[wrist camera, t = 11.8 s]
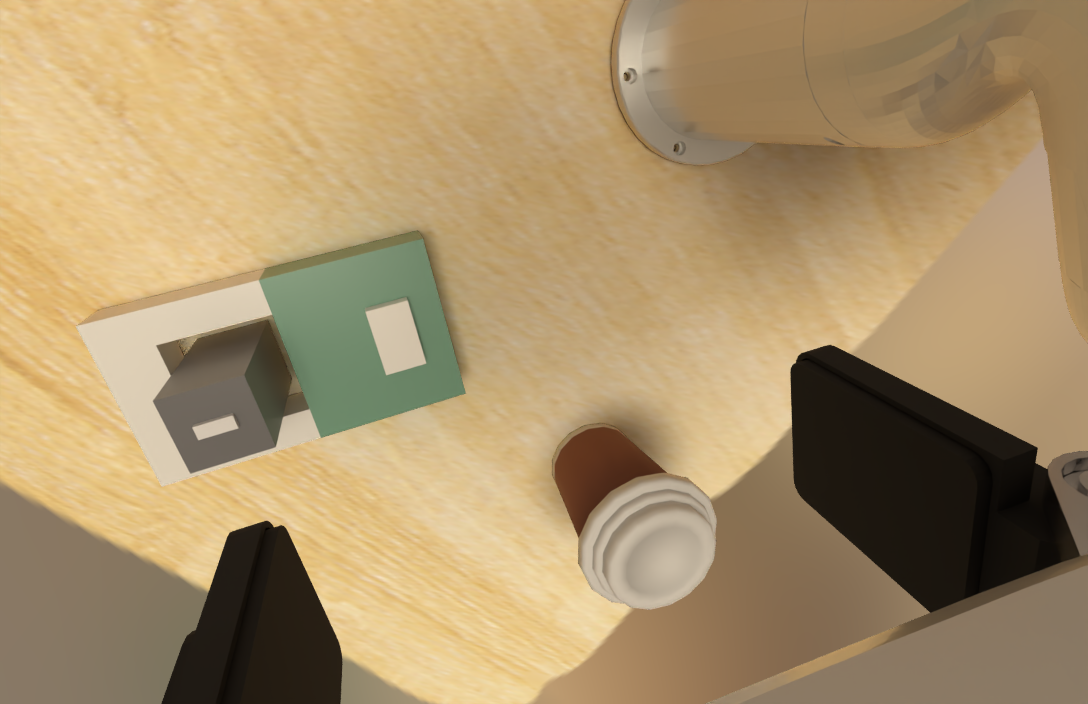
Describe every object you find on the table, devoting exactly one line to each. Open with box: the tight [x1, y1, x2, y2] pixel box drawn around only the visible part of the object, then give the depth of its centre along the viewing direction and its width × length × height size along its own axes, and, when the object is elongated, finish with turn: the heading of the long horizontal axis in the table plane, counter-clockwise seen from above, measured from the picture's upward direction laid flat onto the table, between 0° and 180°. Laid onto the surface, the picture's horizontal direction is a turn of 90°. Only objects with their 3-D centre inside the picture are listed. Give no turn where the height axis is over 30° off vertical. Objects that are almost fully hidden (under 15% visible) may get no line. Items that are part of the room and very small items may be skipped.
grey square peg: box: [153, 320, 292, 474], centre depth 33 cm, size 4×4×9 cm
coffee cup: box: [552, 423, 717, 610], centre depth 41 cm, size 9×9×12 cm
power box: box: [76, 231, 466, 486], centre depth 36 cm, size 18×10×4 cm, turn 102°
